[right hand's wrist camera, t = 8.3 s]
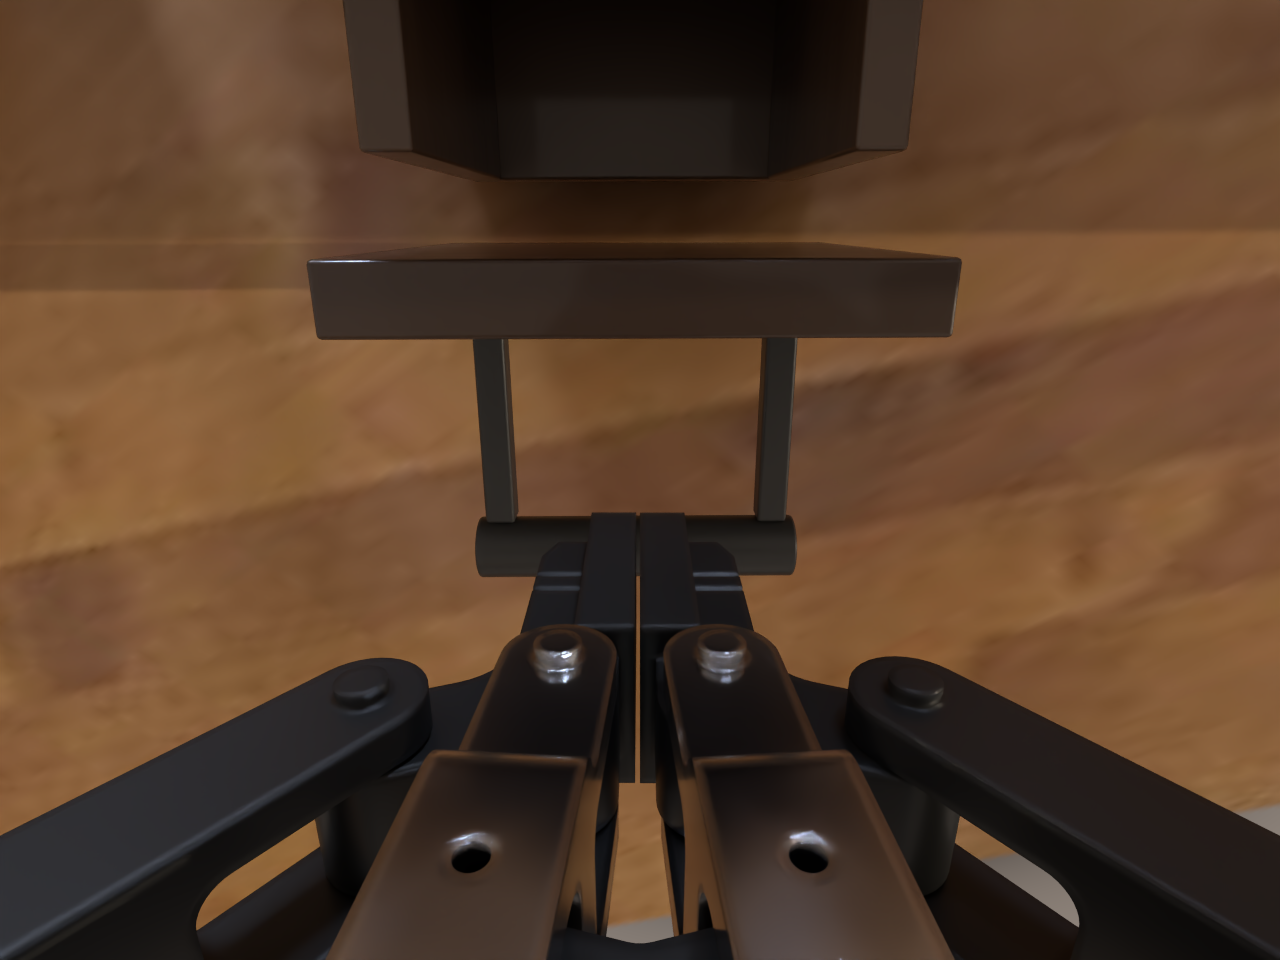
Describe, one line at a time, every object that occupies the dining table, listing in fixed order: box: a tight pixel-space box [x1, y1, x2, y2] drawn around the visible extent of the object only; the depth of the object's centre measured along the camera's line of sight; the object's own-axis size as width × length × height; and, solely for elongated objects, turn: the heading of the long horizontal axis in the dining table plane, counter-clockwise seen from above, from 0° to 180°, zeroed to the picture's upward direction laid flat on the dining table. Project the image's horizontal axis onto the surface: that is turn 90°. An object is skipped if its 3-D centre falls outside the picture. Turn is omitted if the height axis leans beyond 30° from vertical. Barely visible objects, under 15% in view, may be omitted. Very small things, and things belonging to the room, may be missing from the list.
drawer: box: [307, 0, 962, 577], centre depth 15 cm, size 17×10×9 cm, turn 0°
